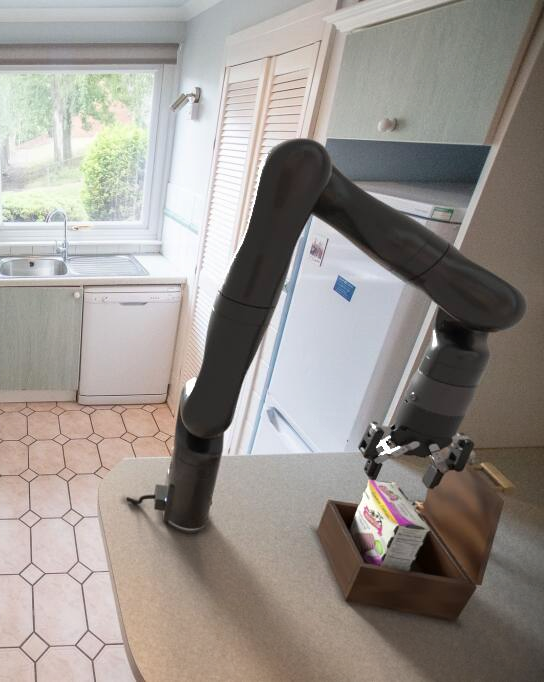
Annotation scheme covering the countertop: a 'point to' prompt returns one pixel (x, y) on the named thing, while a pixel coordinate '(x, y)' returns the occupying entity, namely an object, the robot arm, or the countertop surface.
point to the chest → (395, 571)
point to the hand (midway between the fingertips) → (398, 481)
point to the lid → (468, 513)
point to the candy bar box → (387, 527)
